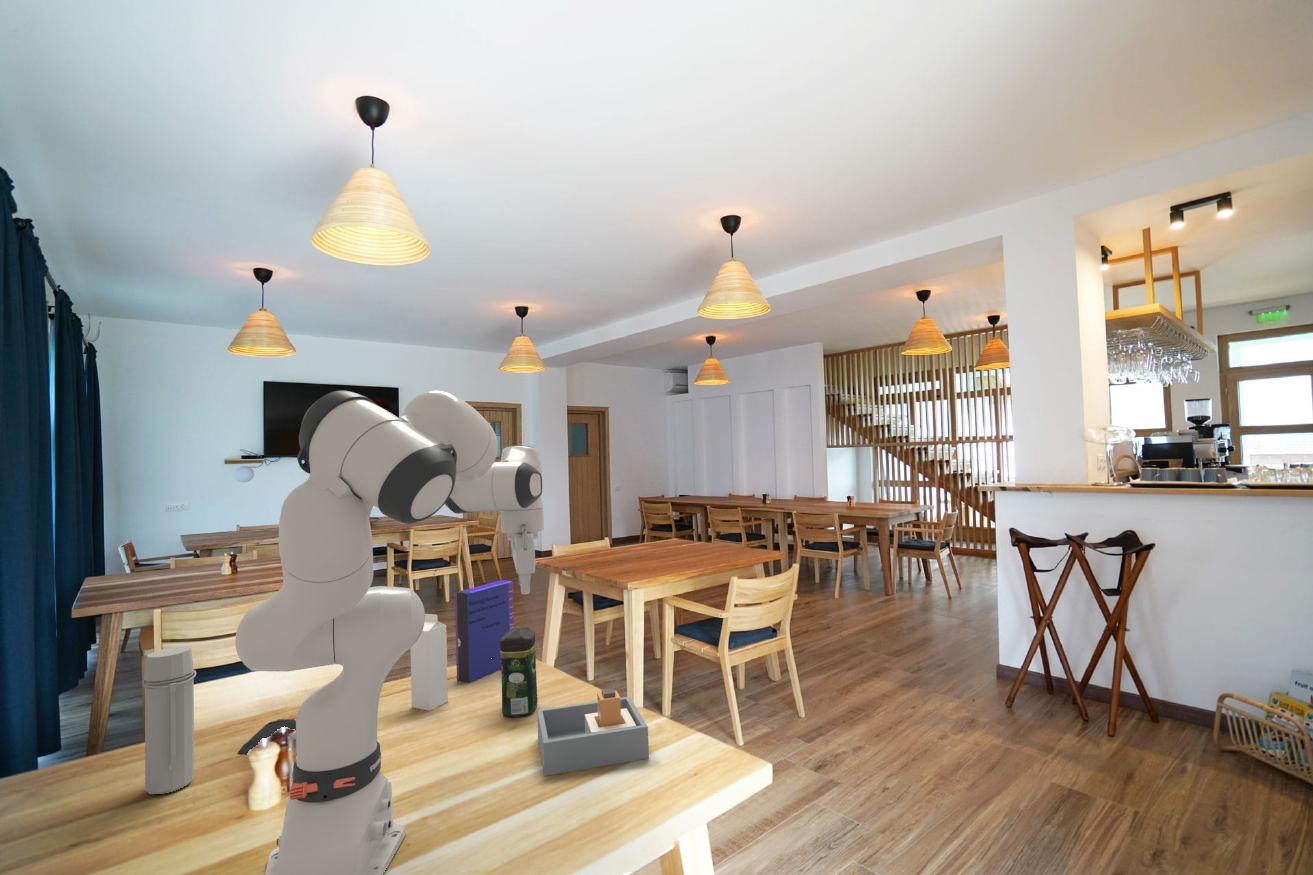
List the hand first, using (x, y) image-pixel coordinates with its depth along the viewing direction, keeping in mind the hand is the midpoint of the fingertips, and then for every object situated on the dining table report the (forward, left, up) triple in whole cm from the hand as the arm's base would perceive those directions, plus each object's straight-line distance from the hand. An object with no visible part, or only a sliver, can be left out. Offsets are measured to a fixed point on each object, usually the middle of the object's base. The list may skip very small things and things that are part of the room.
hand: (524, 589), depth 126 cm
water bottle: (+5, +65, -32) cm, 73 cm away
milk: (+30, +22, -32) cm, 49 cm away
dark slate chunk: (+19, +46, -33) cm, 60 cm away
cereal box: (+49, +9, -32) cm, 59 cm away
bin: (-6, -12, -32) cm, 35 cm away
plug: (-6, -16, -31) cm, 35 cm away
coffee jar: (+19, +1, -32) cm, 37 cm away
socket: (-6, -16, -31) cm, 35 cm away
